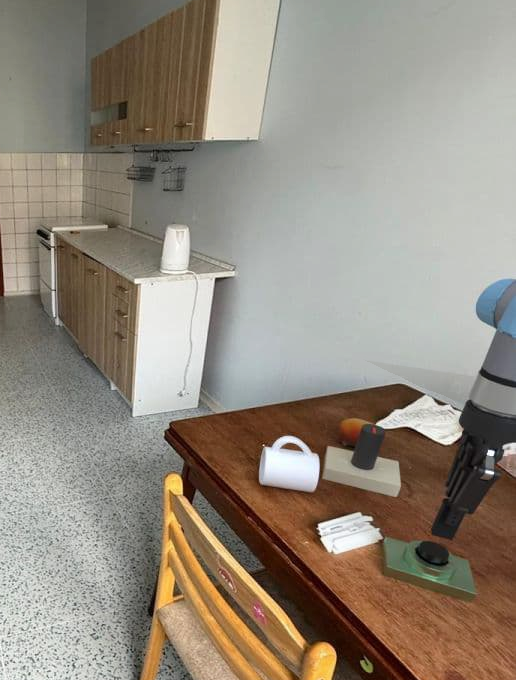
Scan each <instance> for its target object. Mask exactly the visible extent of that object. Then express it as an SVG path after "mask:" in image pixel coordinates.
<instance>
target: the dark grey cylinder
mask: <svg viewBox="0 0 516 680" xmlns="http://www.w3.org/2000/svg"><path fill="white" fill-rule="evenodd" d="M386 434H387V430H386V429H385V428H384V427H383V426H379V425H377V424H374V423H373V424H364V425H363V426H362V428H361V431H360V434H359V437H358V440H357V443H356V447H354V450H353V451H354V453H353V456H352V459H351V463H352V465H353V466H355V467H357V468H359V469H363V470H371V469H373V468H374V466H375V463H376V460H377V457H379V454H380V451H381V448H382V445H383V442H384V439H385V437H386Z"/></svg>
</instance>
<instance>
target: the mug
mask: <svg viewBox="0 0 516 680" xmlns="http://www.w3.org/2000/svg"><path fill="white" fill-rule="evenodd" d="M286 444H295V445H296V446H298V447H299V448H300V449H301V450H302V451H300V450H295V449H287V448H286V449H285V448H282V447H283V446H284V445H286ZM320 466H321V463H320V457H319V455H318V453H315V452H312V451H311V449H310V448H309V447H308V445H307V444H306V443H305V442H304V441H302V440H301V439H300V438H298V437H296V436H292V435H284V436H281V437H279V438H277V439H276V440H275V441H274V442H273V444H272V446H263V449H262V452H261V455H260V460H259V467H258V468H259V471H258V482H259V484H260V485H261V486H266V487H274V488H281V489H288V490H293V491H299V492H307V493H314V492H315V490H316V489H317V486H318V484H319V478H320V471H321V470H320Z"/></svg>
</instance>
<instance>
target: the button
mask: <svg viewBox="0 0 516 680" xmlns="http://www.w3.org/2000/svg"><path fill="white" fill-rule="evenodd" d="M422 541H423V542H421V543H420V545H419V547H418V549H417V555H418V556H419V558H420V559H422V560H424V561H426V562H427V563H429V564H432V565H436V566H443V565H445V563H446V561H447V559H448V557H449V552H450V551H449V550H448V549H447V548H446V547H445V546H444V545H442V544H440V543H438V542H435V541H432V540H422ZM448 551H449V552H448Z"/></svg>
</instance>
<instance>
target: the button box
mask: <svg viewBox="0 0 516 680" xmlns="http://www.w3.org/2000/svg"><path fill="white" fill-rule="evenodd" d="M423 541H424V540H411V541H410V542H406V541H404V540H403V541H402V540H399V539H395V538H392V537H388V536H385V537H384V539H383V542H382V545H381V551H382V553H381V554H382V574H383V575H382V576H383V577H386V578H390V579H393V580H395V581H400V582H403V583H405V584H409V585H412V586H414V587H419V588H421V589H425V590H428V591H430V592H434V593H437V594H439V595H440V594H441V595H443V596H447V597H450V598H453V599H456V600H460V601H463V602H466V603H469V604H472V603H473V602H474V600H475V598H476V597H477V595H478V593H477V590H476V585H475V581H474V576H473V573H472V570H471V569H472V568H471V566H470V561H469V559H467V558H462V557H459V556H455V555H453V554H452V553H451V552H450V551H449V550H448V552H449V557H448V559H447V561H446V563H445V565H443V566H436V565H432V564H429V563H427V562H426V561H424V560H422V559H420V558H419V556H418V555H417V549H418V547H419V545H420V543H421V542H423Z"/></svg>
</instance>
